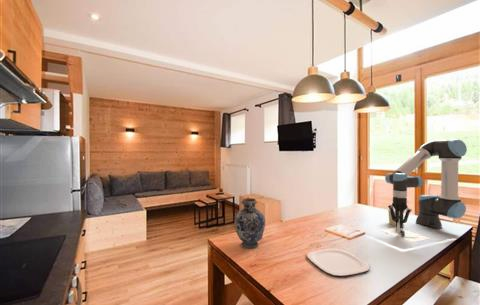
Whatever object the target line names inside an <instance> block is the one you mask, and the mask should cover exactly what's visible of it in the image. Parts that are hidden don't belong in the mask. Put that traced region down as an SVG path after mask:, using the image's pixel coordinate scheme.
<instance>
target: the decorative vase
mask: <svg viewBox="0 0 480 305" xmlns="http://www.w3.org/2000/svg"><path fill="white" fill-rule="evenodd" d="M241 204H242V205H243V208H242V209H240V210H238V211H237V212H236V214H235V217H234V228H235V232H236V235H237V236H238V238H239V239H240V241H241V245H242V246H241V245H240V246H241V247H244V248H243V249H246V248H248V249H247V250H252V249H253V248H254V249H257V248H258V247H259V245H260V244H259V241H260V240H262V238H263V235H264V231H265V228H266V219H265V218H266V216H265V215H264V213H263V212H262V211H261V210H259V209H257V208H256V204H258V201H257V199H256V198H251V197H250V198H249V196H248V197H247V198H244V199H242V201H241Z"/></svg>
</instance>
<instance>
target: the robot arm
mask: <svg viewBox="0 0 480 305" xmlns="http://www.w3.org/2000/svg"><path fill="white" fill-rule="evenodd" d="M467 151H468V149H467V145H466V143H465V142H464V141H463V140H461V139H460V138H459V139H457V138H456V139H455V138H449V139H445V138H444V139H434V140H429V141H427V142H426V143H424V144H422V145H421V146H420V147H418V148H417V149H416V151H415V153H414V154H412V155H411V157H409V158H408V159H407V160H406V161H405V162H404V163H403V164H402V165H401V166H399V167H398V168H397V169H396V170H395V171H394V172H392V173H391V172H390V173H387V174H386V175H385V177H384V180H385V182H386V183H387V184H391V185H392V204H390V205H388V206H387V207H388V210H389V209H390V212H391V217H392V220H393V221H395V222H396V226H395V227H397V233H401V228H403V229H404V227H403V223H404V224H406V223H407V221H408V219H409V216H410V213H411V212H412V211H413V210H412V208H409V207H408V198H407V197H408V188H420V187H422V186H423V185H424V179H423V178H422V177H421V176H419V175H411V174H412V172H414V171H415V170H416V169H417V168H418V167H419V166H420V165H421V164H423V162H425V161H426V160H428V159H431V157H435V156H438V159H439V160H440V161H441V174H440V176H441V178H440V179H441V183H440V186H441V187H440V189H441V190H440V192H441V193H440V195H436V194H420V195H419V196H418V215H417V217H416V219H415V224H416V225H418V226H422V227H425V228H428V229H434V230H437V229H439V230H440V229H442V228H443V225H442V222H441V219H440V216H443V217H446V218H449V219H450V218H451V219H461V218H462V217H463V216H464V215H465V213H466V211H467V205H466V204H465V203H464V202H462V198H461V197H460V196H459V161H460V160H462V158H463V156H464V157H465V156H466V153H467ZM393 209H395V214H394V210H393ZM399 211H400V222H399ZM405 211H406V212H405ZM404 213H405V214H404Z"/></svg>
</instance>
